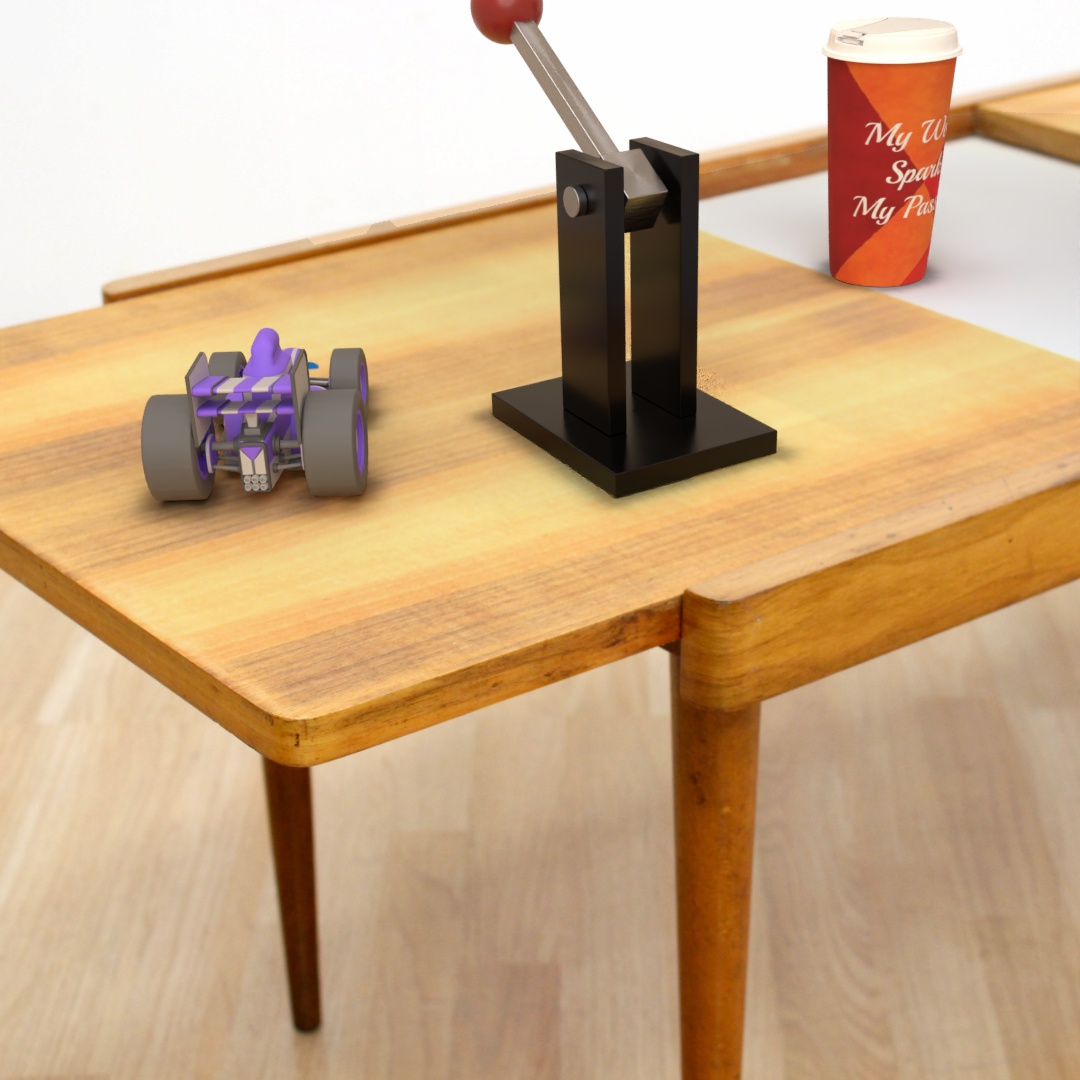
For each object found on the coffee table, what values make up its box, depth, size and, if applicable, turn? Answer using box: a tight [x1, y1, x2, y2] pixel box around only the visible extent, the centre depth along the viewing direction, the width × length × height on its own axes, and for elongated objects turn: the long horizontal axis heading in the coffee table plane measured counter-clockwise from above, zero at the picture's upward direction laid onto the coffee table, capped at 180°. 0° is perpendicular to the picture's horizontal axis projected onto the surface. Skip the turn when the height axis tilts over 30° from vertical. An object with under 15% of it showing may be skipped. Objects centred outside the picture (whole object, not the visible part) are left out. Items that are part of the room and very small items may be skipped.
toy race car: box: [140, 327, 370, 502], centre depth 75 cm, size 10×15×6 cm, turn 0°
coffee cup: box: [821, 16, 964, 288], centre depth 95 cm, size 8×8×15 cm
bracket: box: [490, 136, 778, 499], centre depth 73 cm, size 12×9×14 cm
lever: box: [469, 0, 668, 234], centre depth 74 cm, size 16×4×4 cm
